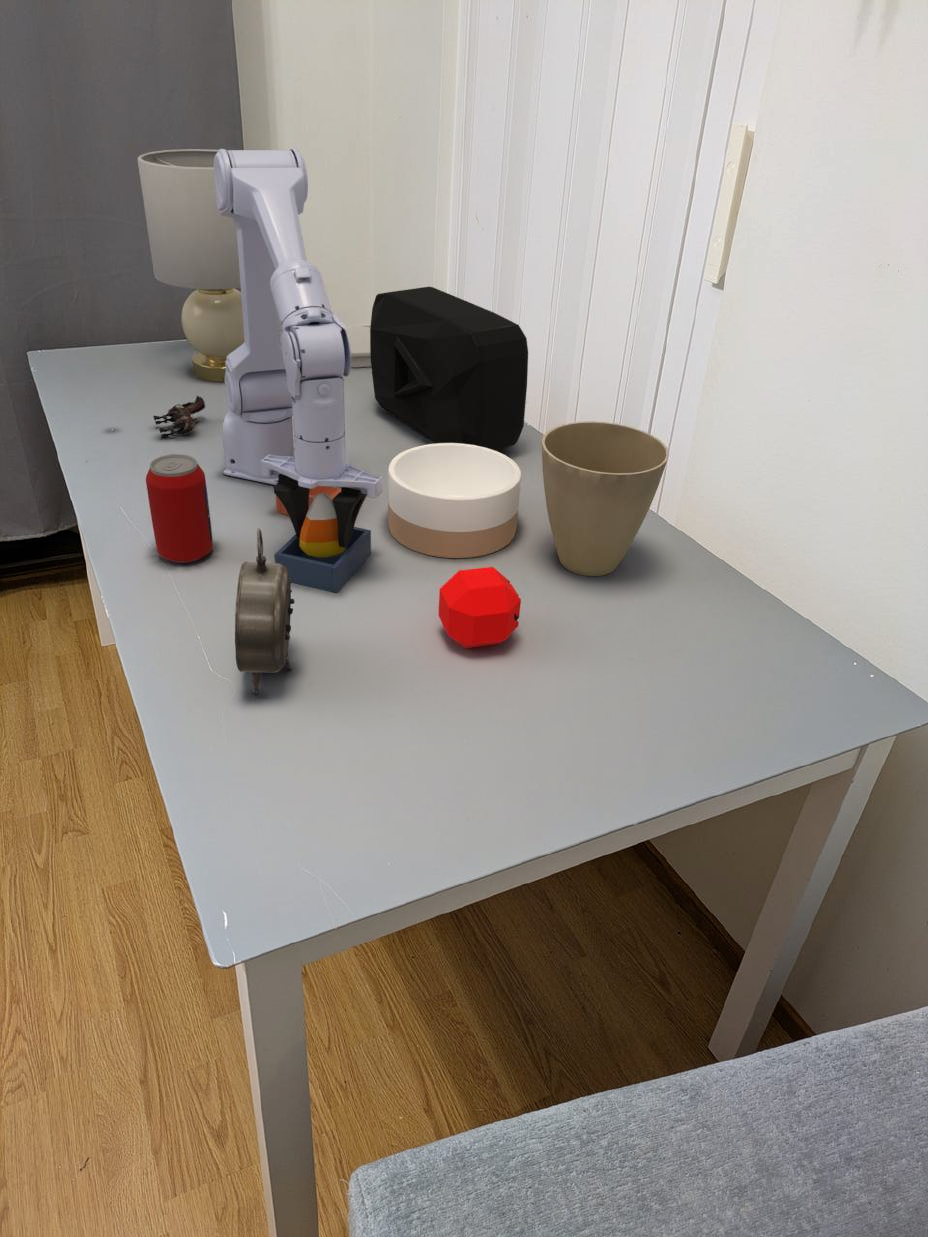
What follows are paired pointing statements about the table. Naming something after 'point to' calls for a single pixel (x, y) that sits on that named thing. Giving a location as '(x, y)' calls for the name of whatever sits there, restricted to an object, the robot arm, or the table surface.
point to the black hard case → (449, 367)
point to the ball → (479, 607)
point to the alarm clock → (262, 616)
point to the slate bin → (325, 562)
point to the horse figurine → (181, 417)
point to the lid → (359, 346)
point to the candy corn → (320, 529)
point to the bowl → (453, 499)
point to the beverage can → (179, 508)
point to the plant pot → (598, 490)
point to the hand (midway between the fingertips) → (323, 538)
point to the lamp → (195, 252)
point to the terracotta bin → (311, 496)
